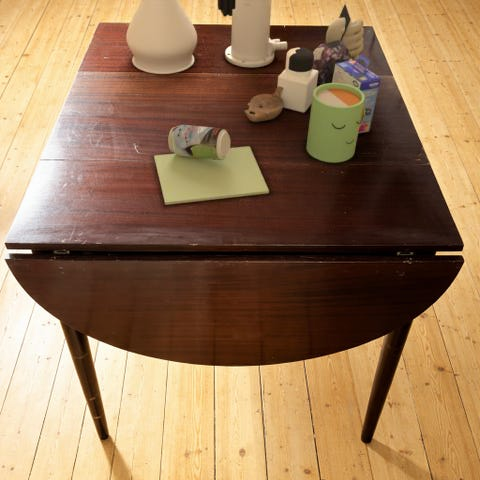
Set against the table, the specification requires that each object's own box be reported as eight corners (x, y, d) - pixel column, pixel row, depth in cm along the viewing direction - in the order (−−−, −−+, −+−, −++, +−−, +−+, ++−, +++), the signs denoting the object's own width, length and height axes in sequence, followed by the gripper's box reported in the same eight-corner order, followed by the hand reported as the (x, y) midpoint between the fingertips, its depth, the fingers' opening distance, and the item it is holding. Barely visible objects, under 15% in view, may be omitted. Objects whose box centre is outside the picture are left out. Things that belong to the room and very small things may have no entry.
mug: (325, 168, 123) (333, 113, 115) (297, 143, 130) (303, 89, 121) (374, 153, 128) (386, 99, 119) (345, 129, 134) (354, 76, 125)
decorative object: (350, 60, 162) (355, 78, 155) (314, 49, 160) (318, 66, 153) (372, 12, 153) (379, 29, 146) (334, -1, 151) (339, 15, 144)
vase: (198, 45, 161) (195, -63, 143) (197, 76, 149) (194, -37, 131) (131, 44, 160) (120, -64, 142) (125, 75, 148) (112, -39, 130)
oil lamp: (259, 131, 132) (260, 110, 129) (234, 118, 136) (234, 97, 132) (297, 110, 139) (299, 89, 135) (272, 98, 142) (274, 78, 139)
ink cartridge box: (371, 131, 134) (384, 66, 123) (350, 137, 132) (362, 71, 121) (345, 111, 140) (356, 47, 129) (325, 116, 138) (334, 52, 127)
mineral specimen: (306, 61, 152) (327, 25, 145) (341, 83, 153) (364, 48, 146) (298, 77, 145) (319, 40, 138) (335, 100, 147) (358, 65, 140)
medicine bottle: (315, 99, 143) (321, 48, 134) (304, 113, 138) (310, 61, 129) (286, 92, 145) (291, 41, 136) (275, 106, 140) (279, 54, 131)
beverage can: (222, 134, 115) (166, 120, 118) (218, 171, 119) (164, 156, 122) (235, 126, 120) (180, 113, 123) (231, 162, 124) (178, 148, 127)
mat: (249, 148, 128) (249, 146, 127) (268, 193, 117) (269, 190, 117) (154, 158, 124) (153, 155, 124) (165, 205, 114) (165, 202, 113)
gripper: (186, -97, 95) (189, 24, 109) (278, -100, 98) (270, 19, 111) (178, -110, 100) (183, 8, 114) (266, -112, 103) (260, 3, 116)
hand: (226, 13), depth 113 cm, fingers closed
